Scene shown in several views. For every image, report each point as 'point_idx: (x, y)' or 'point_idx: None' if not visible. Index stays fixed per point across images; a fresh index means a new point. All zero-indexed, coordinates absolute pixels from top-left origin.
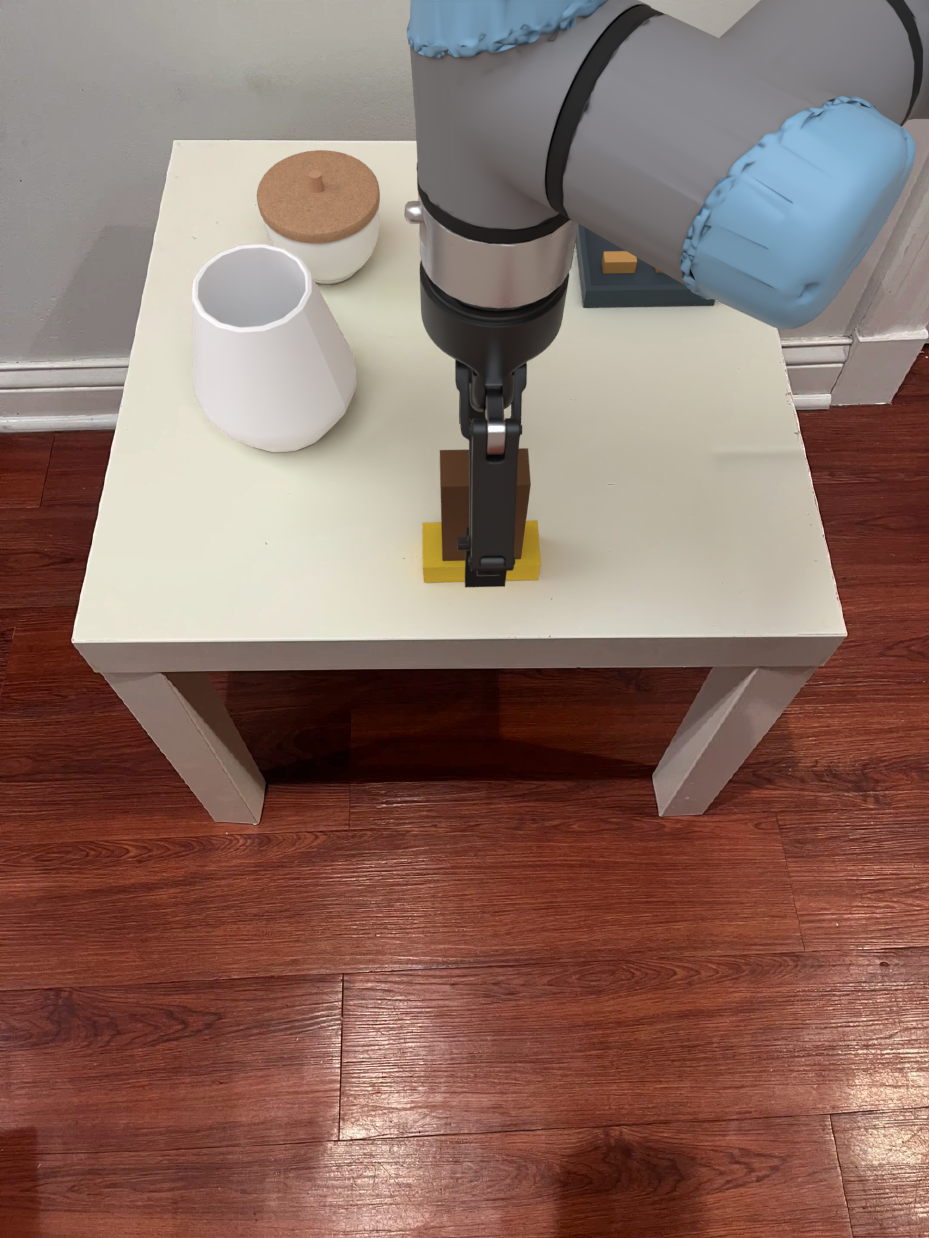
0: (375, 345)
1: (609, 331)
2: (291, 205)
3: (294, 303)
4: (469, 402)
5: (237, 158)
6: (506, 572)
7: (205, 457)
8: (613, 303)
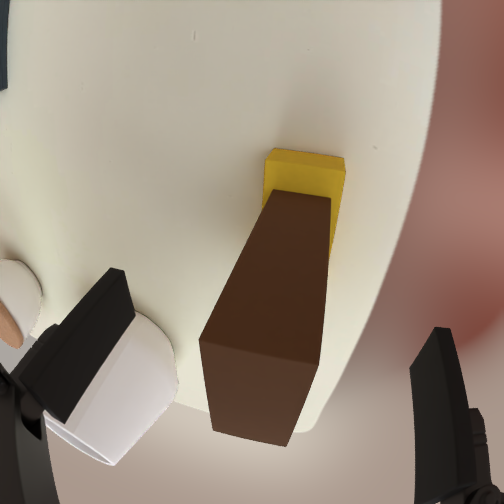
0: (67, 266)
1: (22, 59)
2: (5, 335)
3: None
4: (106, 342)
5: None
6: (459, 367)
7: (183, 381)
8: (2, 62)
